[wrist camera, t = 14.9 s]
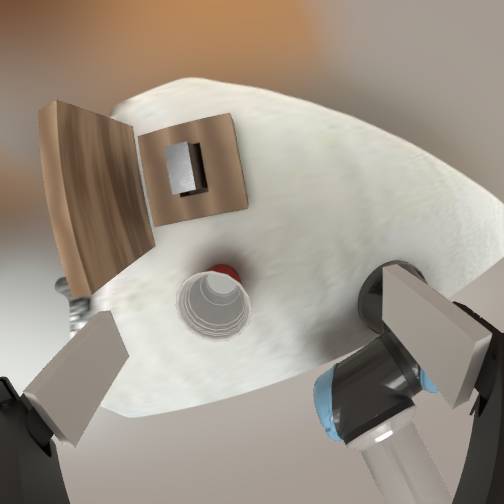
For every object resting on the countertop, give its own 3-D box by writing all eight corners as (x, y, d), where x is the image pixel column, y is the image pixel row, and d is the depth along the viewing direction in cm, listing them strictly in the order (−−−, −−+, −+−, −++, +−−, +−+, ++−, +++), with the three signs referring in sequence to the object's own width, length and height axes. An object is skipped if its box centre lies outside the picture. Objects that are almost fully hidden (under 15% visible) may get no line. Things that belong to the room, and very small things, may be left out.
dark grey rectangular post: (204, 151, 42) (187, 141, 30) (210, 186, 43) (195, 189, 32) (186, 155, 42) (163, 147, 30) (192, 190, 43) (172, 194, 32)
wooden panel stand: (229, 101, 40) (210, 40, 19) (252, 227, 46) (252, 270, 25) (118, 131, 41) (38, 110, 20) (140, 248, 47) (72, 297, 26)
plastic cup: (203, 239, 46) (187, 259, 35) (261, 263, 48) (264, 291, 36) (183, 293, 49) (165, 325, 37) (238, 315, 50) (234, 352, 39)
